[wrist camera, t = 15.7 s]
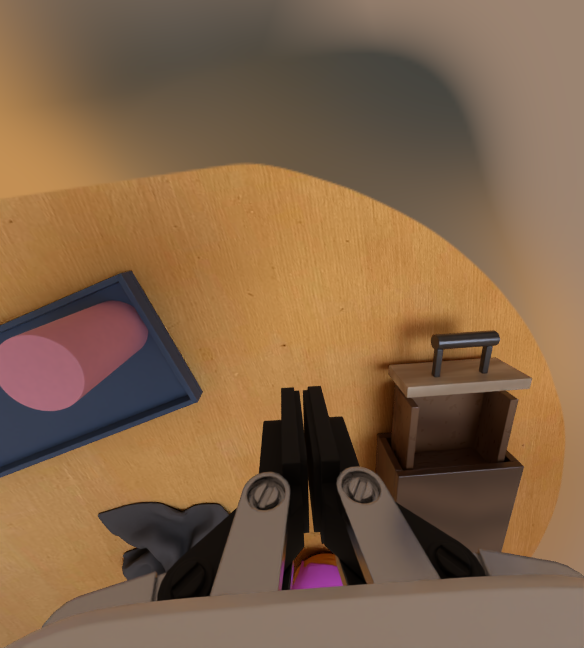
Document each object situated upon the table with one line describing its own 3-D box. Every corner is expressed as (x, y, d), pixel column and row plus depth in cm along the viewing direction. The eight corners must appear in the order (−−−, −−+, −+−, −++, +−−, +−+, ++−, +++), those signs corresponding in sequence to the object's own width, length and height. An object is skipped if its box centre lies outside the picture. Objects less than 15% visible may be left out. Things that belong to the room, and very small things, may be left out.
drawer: (391, 327, 30) (411, 344, 25) (503, 319, 30) (543, 334, 25) (383, 452, 35) (399, 485, 30) (478, 445, 35) (508, 476, 31)
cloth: (268, 512, 38) (266, 562, 33) (236, 595, 44) (229, 650, 38) (103, 481, 35) (68, 530, 30) (89, 574, 41) (58, 630, 35)
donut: (330, 596, 45) (335, 634, 41) (276, 577, 43) (276, 616, 39) (367, 558, 42) (377, 595, 38) (312, 536, 40) (316, 572, 36)
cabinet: (377, 433, 35) (398, 477, 29) (481, 425, 35) (524, 466, 29) (373, 511, 39) (391, 563, 33) (466, 503, 40) (501, 553, 33)
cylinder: (81, 302, 28) (-23, 338, 18) (141, 298, 28) (69, 331, 18) (97, 356, 29) (11, 414, 20) (153, 352, 30) (94, 408, 20)
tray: (131, 270, 27) (120, 273, 25) (203, 391, 32) (198, 402, 30) (-121, 379, 30) (-149, 389, 28) (-21, 477, 34) (-39, 492, 32)
